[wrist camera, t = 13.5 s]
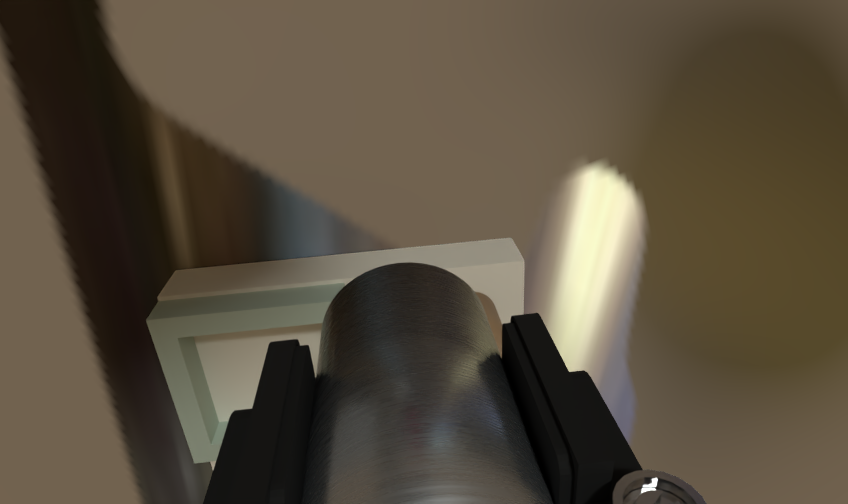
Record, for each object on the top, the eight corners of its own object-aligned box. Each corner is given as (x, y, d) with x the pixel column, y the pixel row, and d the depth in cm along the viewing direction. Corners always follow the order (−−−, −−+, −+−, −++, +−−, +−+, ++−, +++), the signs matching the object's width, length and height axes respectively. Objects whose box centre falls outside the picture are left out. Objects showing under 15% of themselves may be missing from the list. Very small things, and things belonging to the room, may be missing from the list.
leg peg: (286, 347, 13) (194, 789, 6) (397, 229, 12) (445, 598, 5) (412, 423, 15) (457, 851, 7) (520, 325, 13) (695, 716, 6)
